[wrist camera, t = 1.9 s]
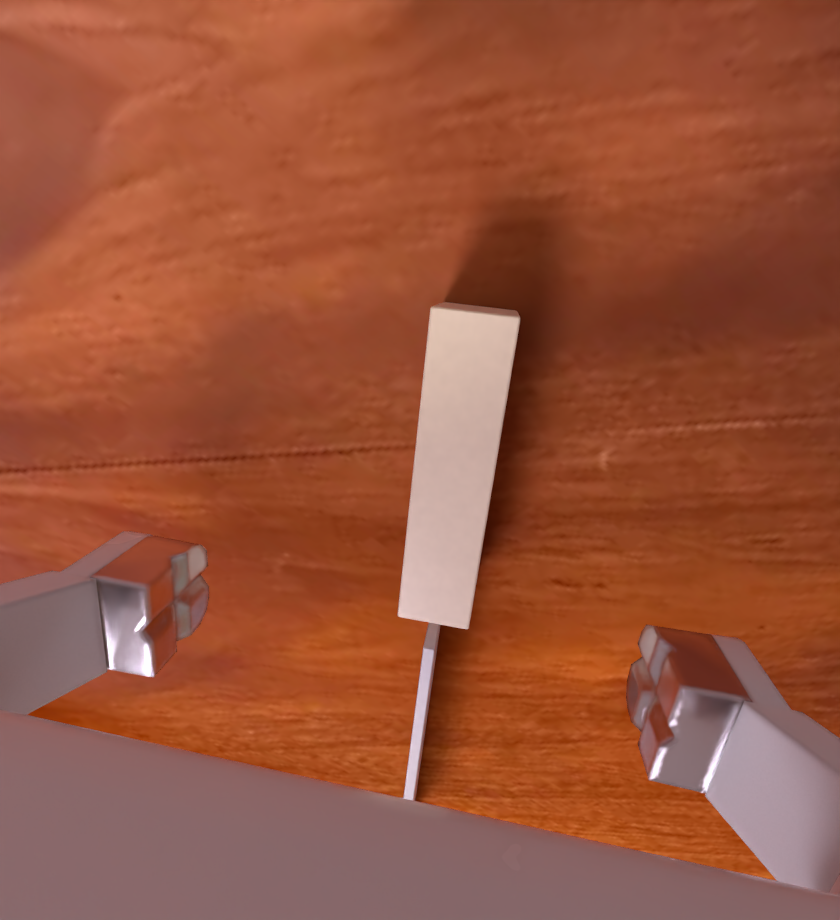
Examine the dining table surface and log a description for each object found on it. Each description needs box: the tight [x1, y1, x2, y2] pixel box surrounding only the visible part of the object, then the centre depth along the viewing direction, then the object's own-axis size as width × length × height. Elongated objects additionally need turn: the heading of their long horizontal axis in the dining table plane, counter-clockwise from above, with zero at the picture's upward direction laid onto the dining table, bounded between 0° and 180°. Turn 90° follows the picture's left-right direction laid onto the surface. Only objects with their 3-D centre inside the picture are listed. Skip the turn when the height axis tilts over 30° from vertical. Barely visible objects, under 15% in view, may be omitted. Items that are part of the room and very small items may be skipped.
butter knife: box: [398, 302, 521, 801], centre depth 19 cm, size 23×2×3 cm, turn 174°
